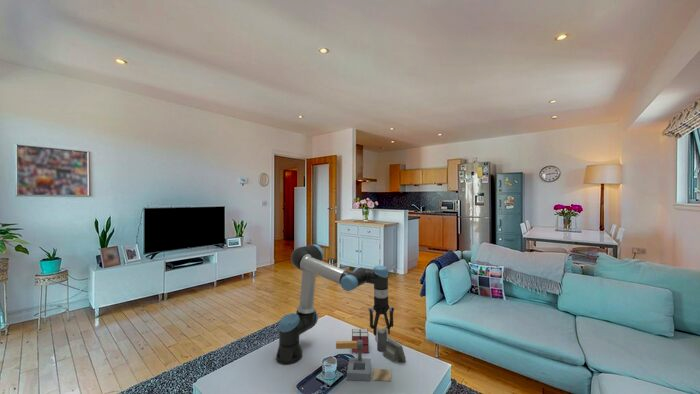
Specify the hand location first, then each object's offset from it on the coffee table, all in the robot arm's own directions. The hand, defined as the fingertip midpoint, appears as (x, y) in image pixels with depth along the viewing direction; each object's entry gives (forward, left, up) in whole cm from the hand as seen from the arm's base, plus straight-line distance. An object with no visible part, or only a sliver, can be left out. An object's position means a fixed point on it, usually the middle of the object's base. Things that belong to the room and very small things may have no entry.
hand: (381, 340), depth 143 cm
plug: (0, 0, -5) cm, 5 cm away
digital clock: (+7, +18, -19) cm, 27 cm away
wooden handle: (-18, +6, -8) cm, 20 cm away
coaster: (0, 0, -18) cm, 18 cm away
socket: (-12, +1, -18) cm, 22 cm away
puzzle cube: (-13, +25, -19) cm, 34 cm away
